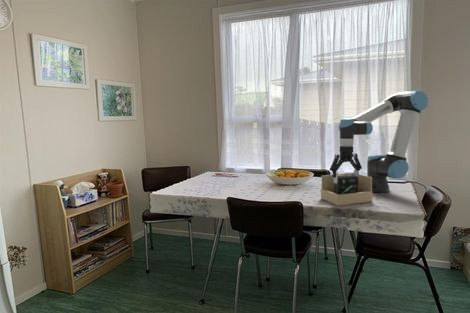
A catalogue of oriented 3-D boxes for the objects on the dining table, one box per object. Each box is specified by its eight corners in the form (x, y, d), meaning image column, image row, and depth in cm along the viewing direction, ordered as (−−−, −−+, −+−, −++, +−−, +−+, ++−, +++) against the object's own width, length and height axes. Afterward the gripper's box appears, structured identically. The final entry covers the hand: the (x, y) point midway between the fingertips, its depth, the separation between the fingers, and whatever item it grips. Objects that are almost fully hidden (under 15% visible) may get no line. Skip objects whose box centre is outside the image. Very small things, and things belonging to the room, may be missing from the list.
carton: (352, 195, 206) (352, 172, 205) (372, 201, 190) (372, 177, 188) (320, 198, 200) (320, 175, 198) (338, 206, 183) (338, 181, 181)
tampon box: (352, 197, 200) (352, 173, 198) (358, 201, 191) (358, 176, 189) (334, 198, 199) (334, 174, 198) (339, 202, 190) (339, 177, 188)
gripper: (360, 144, 198) (359, 179, 201) (323, 146, 191) (323, 182, 193) (368, 145, 191) (367, 181, 194) (331, 147, 184) (330, 185, 186)
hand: (345, 182), depth 194 cm, fingers open, 13 cm apart
